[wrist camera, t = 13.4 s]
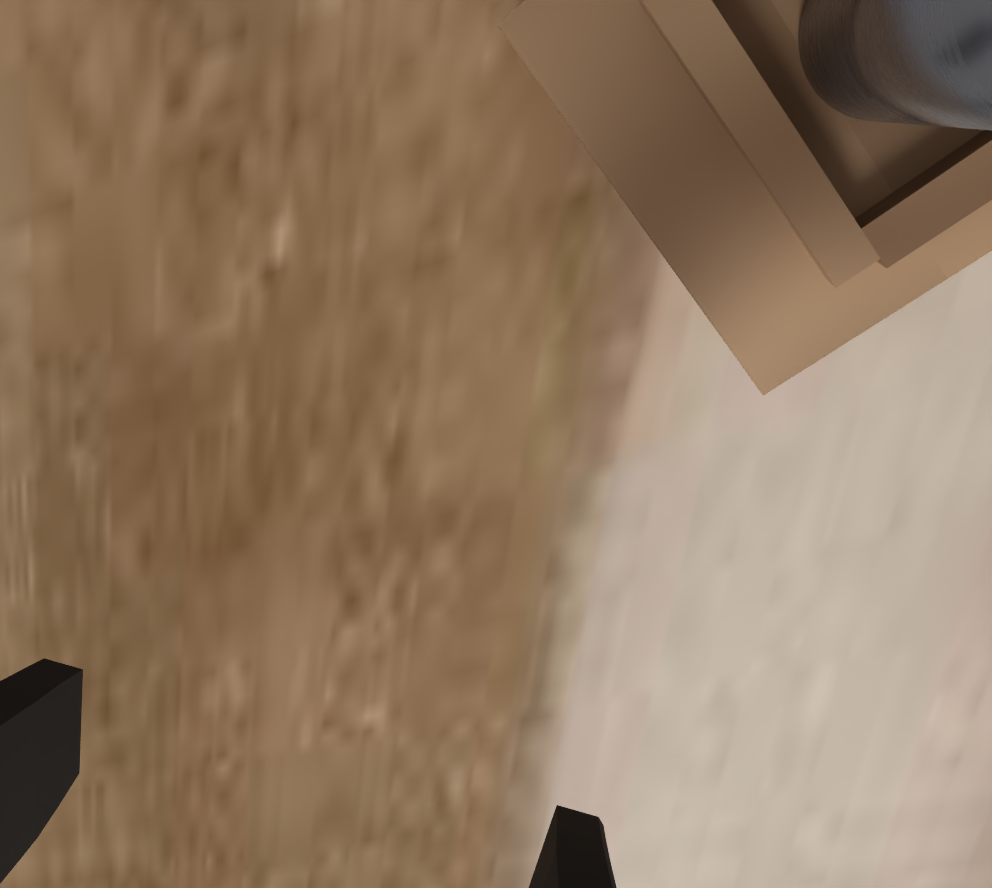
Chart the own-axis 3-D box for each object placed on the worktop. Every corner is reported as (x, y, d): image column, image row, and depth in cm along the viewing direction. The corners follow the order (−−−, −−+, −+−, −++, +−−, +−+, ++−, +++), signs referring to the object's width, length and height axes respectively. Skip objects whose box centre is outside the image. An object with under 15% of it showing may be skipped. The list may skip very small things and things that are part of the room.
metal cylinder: (782, -37, 13) (928, -170, 7) (976, -109, 13) (1344, -330, 6) (815, 144, 14) (973, 181, 8) (999, 86, 13) (1340, 74, 7)
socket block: (524, 41, 18) (489, 20, 13) (985, -371, 14) (1143, -580, 10) (737, 340, 19) (769, 409, 15) (1195, 34, 16) (1411, 8, 12)
